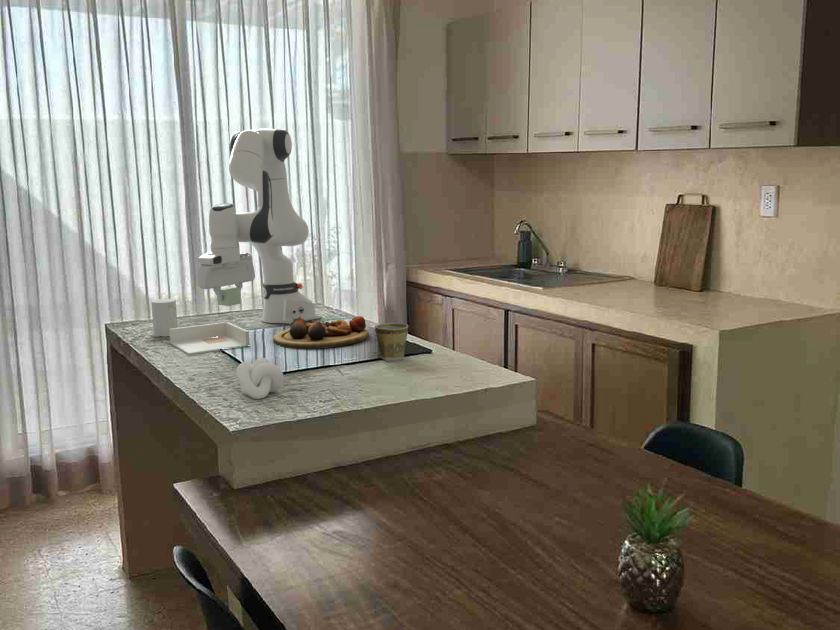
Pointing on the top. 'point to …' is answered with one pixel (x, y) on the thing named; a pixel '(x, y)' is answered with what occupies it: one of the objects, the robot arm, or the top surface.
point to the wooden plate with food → (322, 333)
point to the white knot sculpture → (259, 378)
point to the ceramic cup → (391, 340)
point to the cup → (164, 316)
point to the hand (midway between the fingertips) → (228, 299)
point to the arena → (198, 337)
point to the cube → (230, 296)
